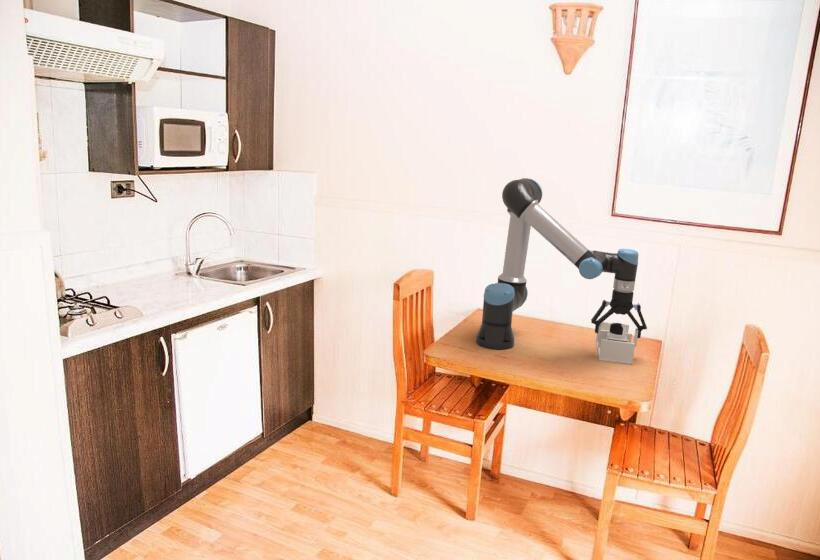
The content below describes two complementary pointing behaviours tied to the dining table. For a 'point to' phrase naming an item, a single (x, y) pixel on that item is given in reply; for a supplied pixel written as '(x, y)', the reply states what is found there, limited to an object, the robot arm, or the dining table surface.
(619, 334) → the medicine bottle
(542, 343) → the dining table surface
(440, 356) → the dining table surface
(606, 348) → the rack
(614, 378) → the dining table surface
